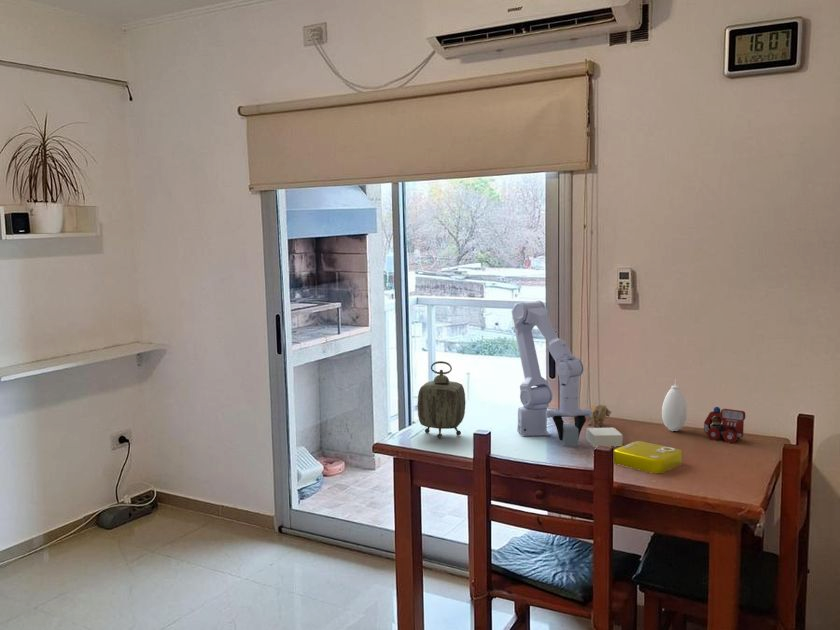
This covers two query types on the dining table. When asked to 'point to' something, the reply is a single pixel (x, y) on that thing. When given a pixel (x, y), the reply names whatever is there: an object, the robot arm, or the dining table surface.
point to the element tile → (647, 456)
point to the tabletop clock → (441, 403)
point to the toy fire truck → (725, 424)
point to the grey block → (569, 435)
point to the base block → (604, 437)
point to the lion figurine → (599, 415)
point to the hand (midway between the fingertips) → (568, 439)
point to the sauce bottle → (674, 409)
